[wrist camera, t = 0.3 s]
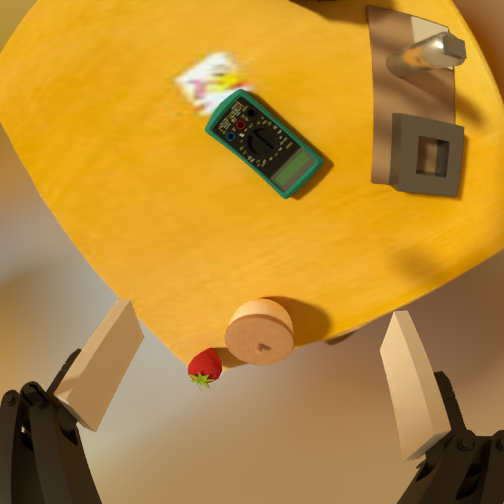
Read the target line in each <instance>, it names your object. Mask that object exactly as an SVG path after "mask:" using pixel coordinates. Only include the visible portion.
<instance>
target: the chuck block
mask: <svg viewBox="0 0 504 504" xmlns="http://www.w3.org/2000/svg"><path fill="white" fill-rule="evenodd" d="M419 136H424V137H429V138H434V139H438V141H437V155H436V166H435V172H431V171H424V170H416V168H417V156H418V140H419ZM463 141H464V127H462V126H459V125H455V124H451V123H447V122H443V121H438V120H434V119H429V118H425V117H420V116H414V115H409V114H403V113H392V143H391V161H390V174H389V185H390V186H392V187H393V188H394V189H395V190H397V191H403V192H414V193H424V194H434V195H443V196H451V197H457V194H458V188H459V181H460V173H461V164H462V154H463Z"/></svg>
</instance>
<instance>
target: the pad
mask: <svg viewBox="0 0 504 504" xmlns="http://www.w3.org/2000/svg"><path fill="white" fill-rule="evenodd" d="M411 21H412V28H413V35H414V43H416V42H419V41H421V40H423V39H426V38H428V37H430V36H433V35H435V34H438V33H440V32H448V28H446V27H444V26H441V25H438V24H435V23H432V22H429V21H426V20H423V19H420V18H416V17H413V16H412V17H411ZM446 69H449V70H453V67H446Z"/></svg>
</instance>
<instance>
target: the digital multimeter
mask: <svg viewBox="0 0 504 504" xmlns="http://www.w3.org/2000/svg"><path fill="white" fill-rule="evenodd" d="M256 107H257V108H256ZM228 109H229V110H228ZM268 117H269V118H268ZM205 131H206V133H208V134H209V135H210V136H212V137H213V138H215V139H216V140H217V141H219V142H220V143H221V144H223V145H224V146H225V147H227V148H228V149H229V150H230V151H232V152H233V153H234V154H235V155H237V156H238V157H239V158H240V159H242V160H243V161H244V162H245V163H246V164H247V165H249V166H250V167H251V168H252V169H253V170H254V171H255V172H257V173H258V174H259V175H260V176H261V177H262V178H263V179H264V180H265V181H266V182H267V183H268V184H269V185H270V186H271V187H272V188H273V189H274V190H275V191H276V192H277V193H278V194H280V195H281V196H282V197H283V198H284V199H288V198H289V197H290V196H292V195H293V194H294V193H295V192H296V191H298V190H299V189H300V188H301V187H302V186H303V185H304V184H305V183H306V182H307V181H308V180H309V179H310V178H311V177H312V176H313V175H314V174H315V173H316V172H317V170H318V169H319V168H320V167H321V166H322V164H323V159H322V158H321V157H320V156H319V155H318V154H317V153H316V152H315V151H313V150H312V149H311V148H310V147H309V146H308V145H307V144H305V143H304V142H303V141H302V140H301V139H300V138H298V137H297V136H296V135H295V134H294V133H293V132H292V131H290V130H289V129H288V128H287V127H286V126H285V125H283V124H282V123H281V122H280V121H279V120H278V119H277V118H275V117H274V116H273V115H272V114H271V113H270V112H269V111H268V110H266V109H265V108H264V107H263V106H262V105H261V104H260V103H259V102H257V101H256V100H255V99H254V98H253V97H252V96H251V95H249V94H248V93H247V92H246V91H245V90H243V89H239V90H237V91H236V92H234V93H233V94H231V95H230V96H229V97H227V98H226V99H225V100H224V101H223V102H222V103H221V104H220V105H219V106H218V107H217V108H216V110H215V111H214V113H213V114H212V116H211V118H210V120H209V122H208V124H207V126H206V128H205ZM276 138H277V139H276Z"/></svg>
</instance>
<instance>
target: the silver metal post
mask: <svg viewBox="0 0 504 504" xmlns="http://www.w3.org/2000/svg"><path fill="white" fill-rule="evenodd" d="M465 59H467V58H466V49H465V42H464V41H463V40H461V39H458V38H457V37H456V36H454V35H453V34H451V33H449V32H440V33H438V34H435V35H433V36H430V37H428V38H426V39H423V40H421V41H419V42H416V43H414V44H412V45H410V46H408V47H405V48H403V49H401V50H399V51H397V52H395V53H393V54H391V55H389V56H388V57H387V59H386V66H387V68H388V70H389V71H390V73H392V74H393V75H395V76H397V77H403V76H408V75H412V74H416V73H421V72H425V71H430V70H435V69H441V68H446V67H452V66H458V65H461V64H462V63H463V62H464V60H465Z"/></svg>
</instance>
